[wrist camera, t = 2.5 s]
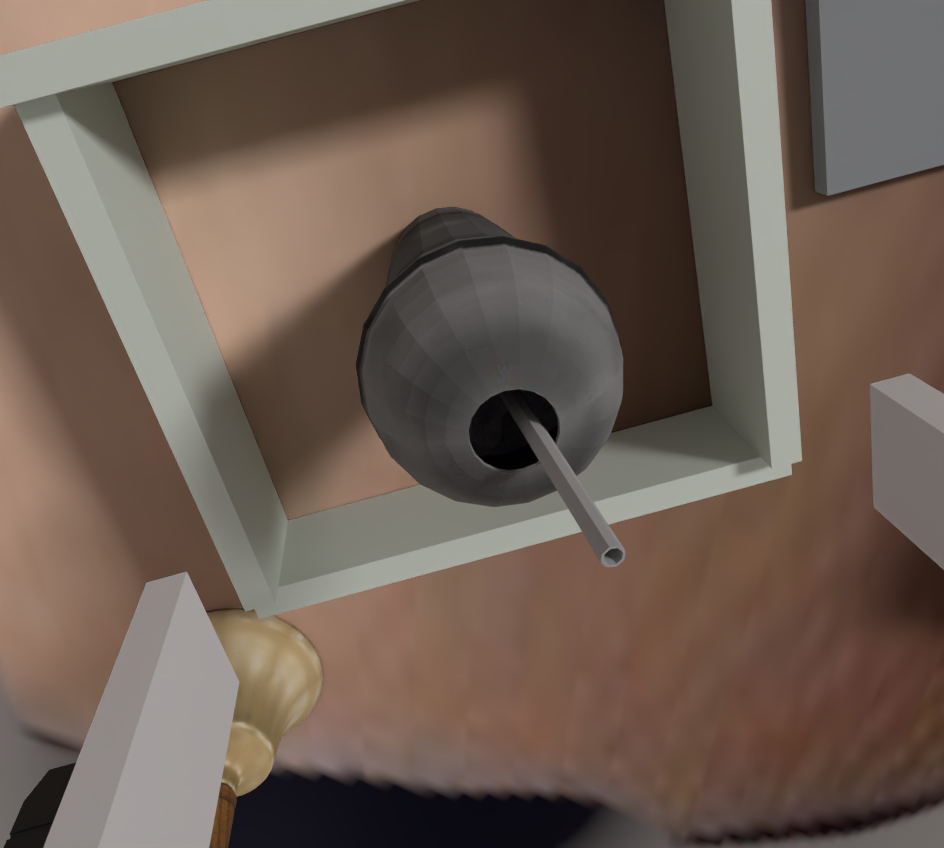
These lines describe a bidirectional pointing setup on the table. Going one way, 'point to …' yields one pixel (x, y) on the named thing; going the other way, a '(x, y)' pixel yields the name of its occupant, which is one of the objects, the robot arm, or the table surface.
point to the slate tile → (875, 89)
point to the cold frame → (418, 508)
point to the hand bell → (261, 700)
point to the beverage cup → (492, 368)
